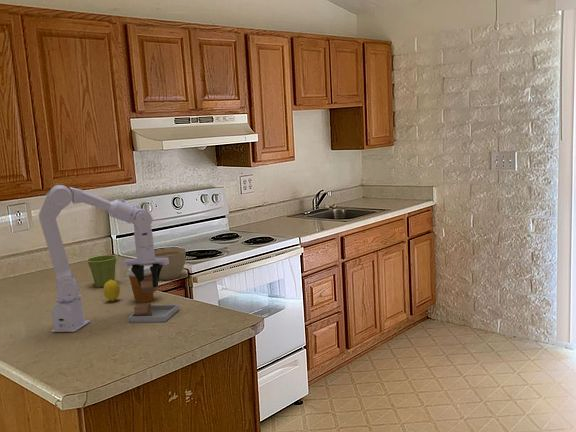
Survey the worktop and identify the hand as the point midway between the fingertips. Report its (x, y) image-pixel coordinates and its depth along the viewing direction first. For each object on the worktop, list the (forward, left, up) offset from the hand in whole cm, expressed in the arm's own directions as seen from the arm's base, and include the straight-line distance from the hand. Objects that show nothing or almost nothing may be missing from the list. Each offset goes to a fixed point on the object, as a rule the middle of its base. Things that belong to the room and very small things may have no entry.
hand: (149, 286), depth 187 cm
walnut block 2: (-7, 0, -8) cm, 11 cm away
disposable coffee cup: (+13, +9, -9) cm, 18 cm away
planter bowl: (+46, +13, -9) cm, 49 cm away
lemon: (+13, +21, -9) cm, 26 cm away
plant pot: (+36, +36, -9) cm, 52 cm away
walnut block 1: (0, 0, -2) cm, 2 cm away
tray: (-5, -3, -9) cm, 10 cm away
